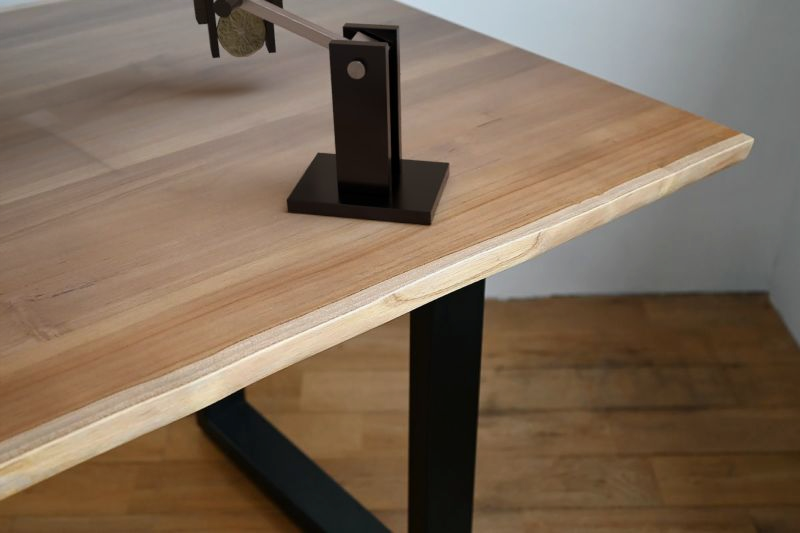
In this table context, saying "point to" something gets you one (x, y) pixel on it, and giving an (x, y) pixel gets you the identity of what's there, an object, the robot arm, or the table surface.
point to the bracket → (368, 140)
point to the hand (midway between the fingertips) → (243, 50)
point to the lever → (284, 20)
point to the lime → (241, 33)
